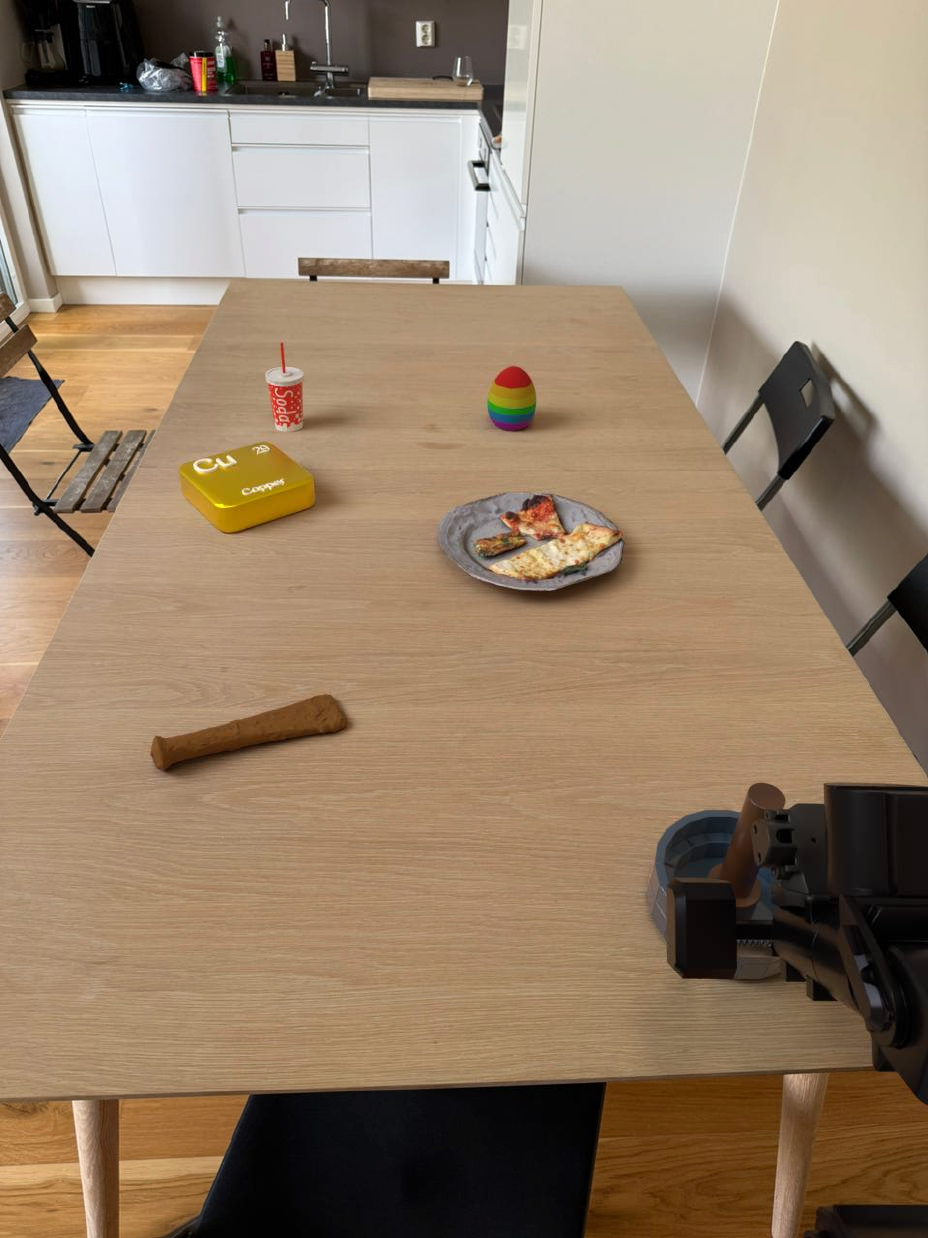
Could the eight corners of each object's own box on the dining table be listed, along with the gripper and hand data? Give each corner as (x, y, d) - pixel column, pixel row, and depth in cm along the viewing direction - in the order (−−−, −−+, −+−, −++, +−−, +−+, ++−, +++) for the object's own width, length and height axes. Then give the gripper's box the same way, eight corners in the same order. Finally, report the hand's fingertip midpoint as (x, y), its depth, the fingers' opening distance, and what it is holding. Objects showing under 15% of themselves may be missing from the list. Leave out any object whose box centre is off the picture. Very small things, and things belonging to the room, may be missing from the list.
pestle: (763, 919, 75) (808, 810, 67) (718, 934, 74) (759, 825, 65) (734, 878, 78) (773, 769, 70) (691, 891, 77) (726, 782, 69)
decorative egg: (515, 409, 156) (519, 354, 150) (544, 427, 150) (549, 370, 144) (477, 419, 152) (479, 363, 146) (504, 438, 147) (508, 380, 141)
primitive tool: (330, 696, 96) (328, 671, 94) (350, 728, 92) (349, 703, 90) (150, 756, 88) (143, 731, 86) (164, 794, 84) (157, 768, 82)
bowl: (841, 955, 74) (859, 919, 70) (698, 1005, 70) (712, 969, 67) (747, 830, 84) (760, 794, 81) (618, 867, 80) (626, 831, 77)
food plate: (552, 489, 134) (554, 469, 131) (657, 566, 118) (662, 543, 116) (407, 533, 122) (407, 511, 120) (503, 623, 107) (505, 600, 105)
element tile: (224, 537, 120) (219, 506, 117) (177, 491, 129) (172, 461, 126) (321, 505, 128) (318, 475, 125) (270, 464, 137) (267, 435, 134)
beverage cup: (263, 429, 146) (254, 346, 137) (282, 415, 151) (274, 333, 142) (296, 436, 144) (289, 352, 136) (314, 421, 149) (308, 339, 140)
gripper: (1006, 820, 54) (878, 799, 69) (701, 815, 53) (640, 795, 69) (1016, 1012, 53) (883, 947, 68) (703, 1009, 52) (641, 944, 67)
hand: (762, 904), depth 68 cm, fingers open, 9 cm apart
